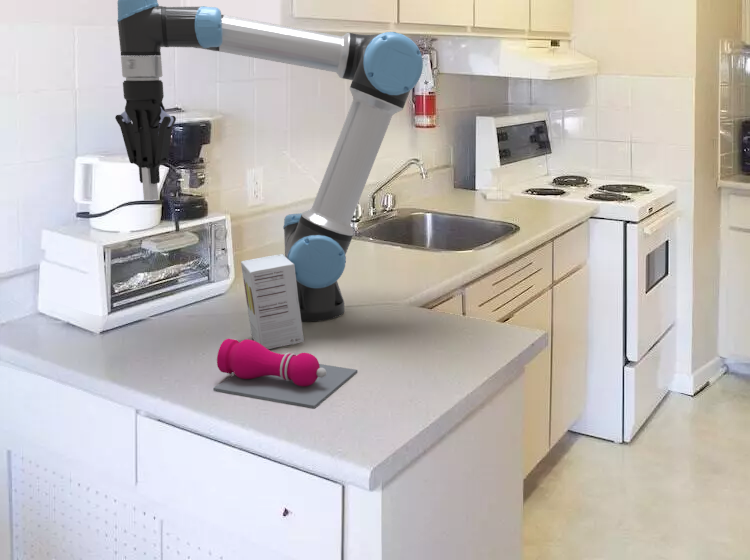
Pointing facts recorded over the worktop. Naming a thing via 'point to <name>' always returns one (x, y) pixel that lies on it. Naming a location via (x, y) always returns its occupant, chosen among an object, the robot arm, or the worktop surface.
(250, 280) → the supplement box
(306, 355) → the pepper mill
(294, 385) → the slate mat
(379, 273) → the worktop surface
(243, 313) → the worktop surface
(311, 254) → the robot arm
